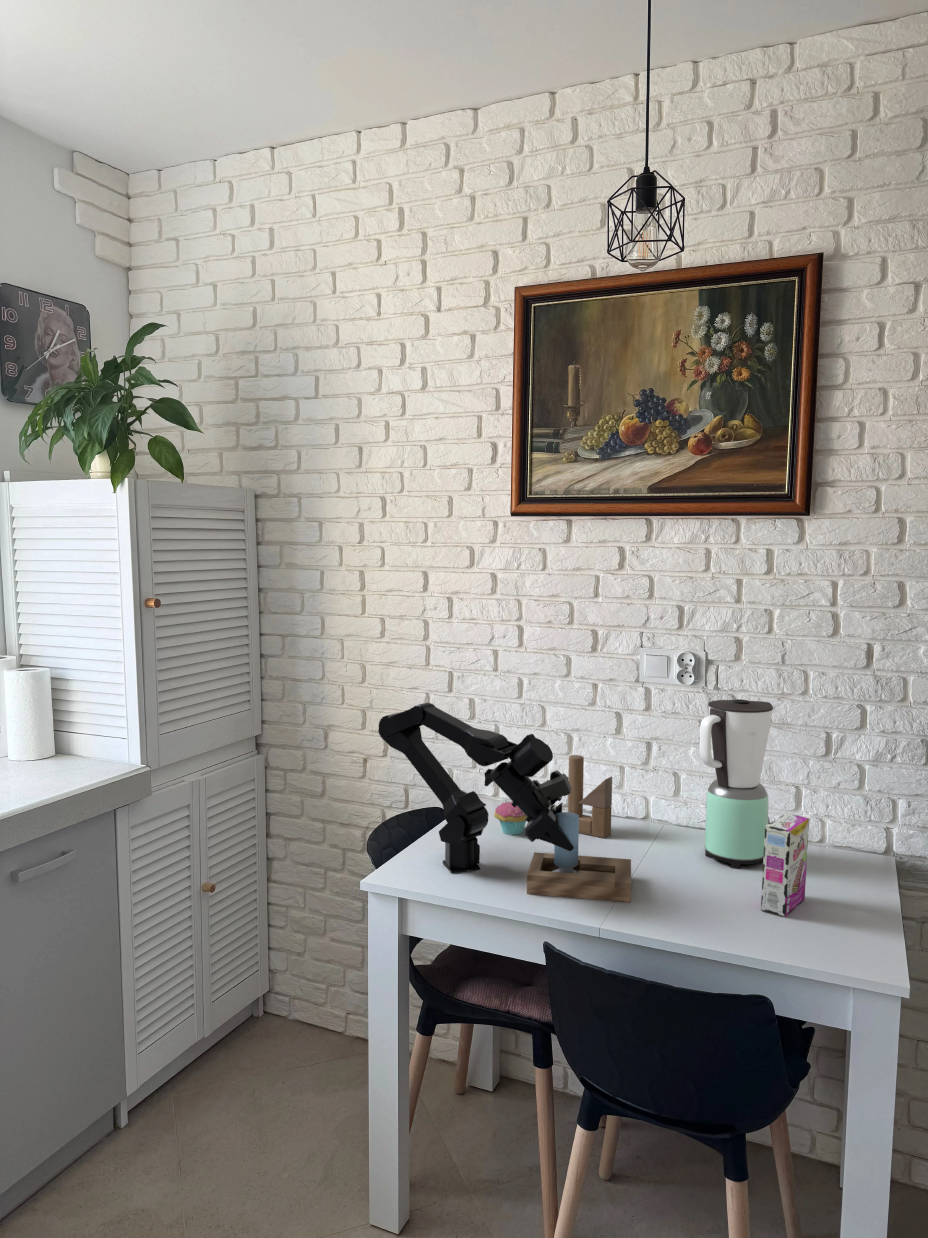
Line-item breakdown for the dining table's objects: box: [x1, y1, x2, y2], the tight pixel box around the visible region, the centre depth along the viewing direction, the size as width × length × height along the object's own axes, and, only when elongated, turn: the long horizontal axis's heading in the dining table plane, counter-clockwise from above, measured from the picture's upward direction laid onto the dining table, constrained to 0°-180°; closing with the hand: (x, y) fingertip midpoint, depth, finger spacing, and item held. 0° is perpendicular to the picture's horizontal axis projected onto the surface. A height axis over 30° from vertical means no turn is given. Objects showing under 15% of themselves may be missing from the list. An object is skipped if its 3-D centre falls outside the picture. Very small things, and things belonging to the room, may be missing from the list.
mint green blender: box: [698, 698, 774, 870], centre depth 189 cm, size 19×13×35 cm
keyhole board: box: [526, 851, 632, 903], centre depth 175 cm, size 20×13×4 cm, turn 79°
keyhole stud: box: [552, 811, 580, 874], centre depth 175 cm, size 6×6×13 cm
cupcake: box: [494, 801, 527, 836], centre depth 207 cm, size 9×8×12 cm
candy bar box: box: [760, 813, 810, 918], centre depth 165 cm, size 11×5×16 cm, turn 141°
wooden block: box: [567, 754, 613, 839], centre depth 207 cm, size 4×11×18 cm, turn 55°
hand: (573, 845), depth 175 cm, fingers closed on keyhole stud, 5 cm apart
